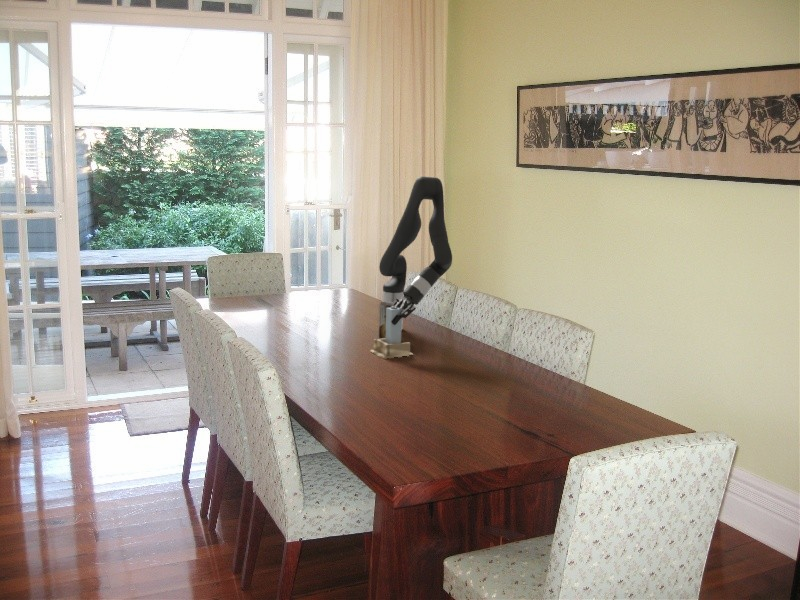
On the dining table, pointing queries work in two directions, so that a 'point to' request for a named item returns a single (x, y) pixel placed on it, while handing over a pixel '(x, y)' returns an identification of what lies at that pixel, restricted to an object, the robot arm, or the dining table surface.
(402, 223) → the robot arm
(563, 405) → the dining table surface
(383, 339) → the keeper pocket
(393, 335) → the post
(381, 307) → the coffee box
